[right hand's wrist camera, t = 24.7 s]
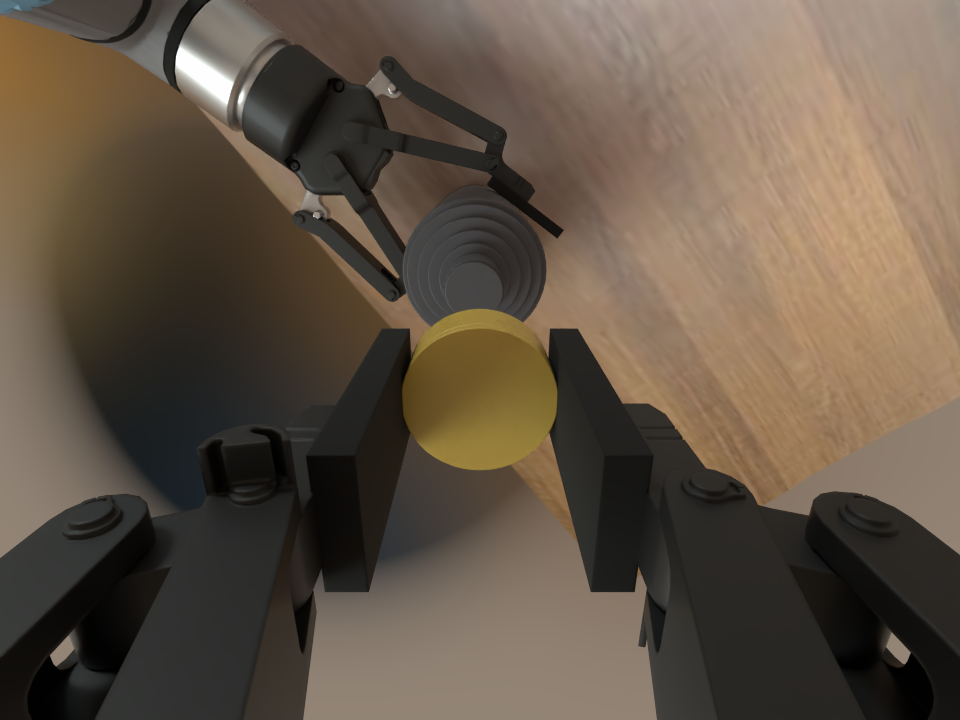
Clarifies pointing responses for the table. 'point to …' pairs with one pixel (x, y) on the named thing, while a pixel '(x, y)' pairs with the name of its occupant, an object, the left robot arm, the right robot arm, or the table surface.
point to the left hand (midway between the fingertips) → (523, 276)
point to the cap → (479, 390)
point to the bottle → (474, 258)
